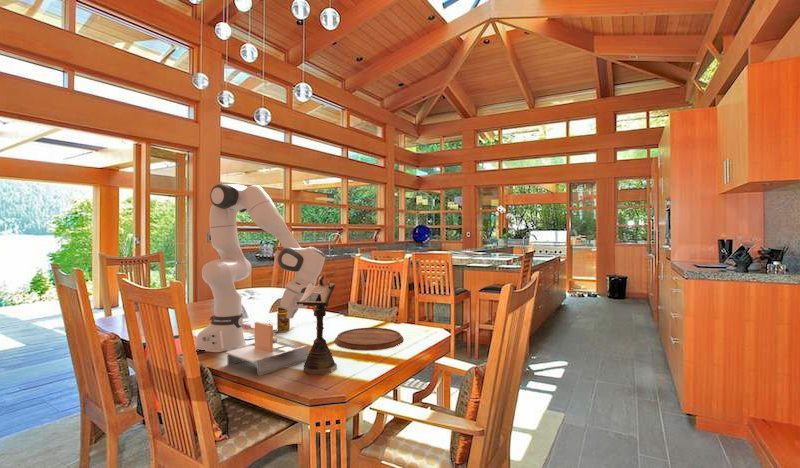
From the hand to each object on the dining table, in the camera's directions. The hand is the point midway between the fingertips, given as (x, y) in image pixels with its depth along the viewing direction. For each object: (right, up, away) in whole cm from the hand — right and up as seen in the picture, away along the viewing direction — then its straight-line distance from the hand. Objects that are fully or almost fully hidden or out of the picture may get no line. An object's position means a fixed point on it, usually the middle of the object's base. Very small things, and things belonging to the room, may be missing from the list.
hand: (289, 318), depth 162 cm
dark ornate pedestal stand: (+16, -16, -16) cm, 28 cm away
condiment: (-16, -16, +44) cm, 49 cm away
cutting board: (+30, -16, +25) cm, 43 cm away
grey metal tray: (-6, -16, -6) cm, 18 cm away
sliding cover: (-11, -11, -12) cm, 19 cm away
